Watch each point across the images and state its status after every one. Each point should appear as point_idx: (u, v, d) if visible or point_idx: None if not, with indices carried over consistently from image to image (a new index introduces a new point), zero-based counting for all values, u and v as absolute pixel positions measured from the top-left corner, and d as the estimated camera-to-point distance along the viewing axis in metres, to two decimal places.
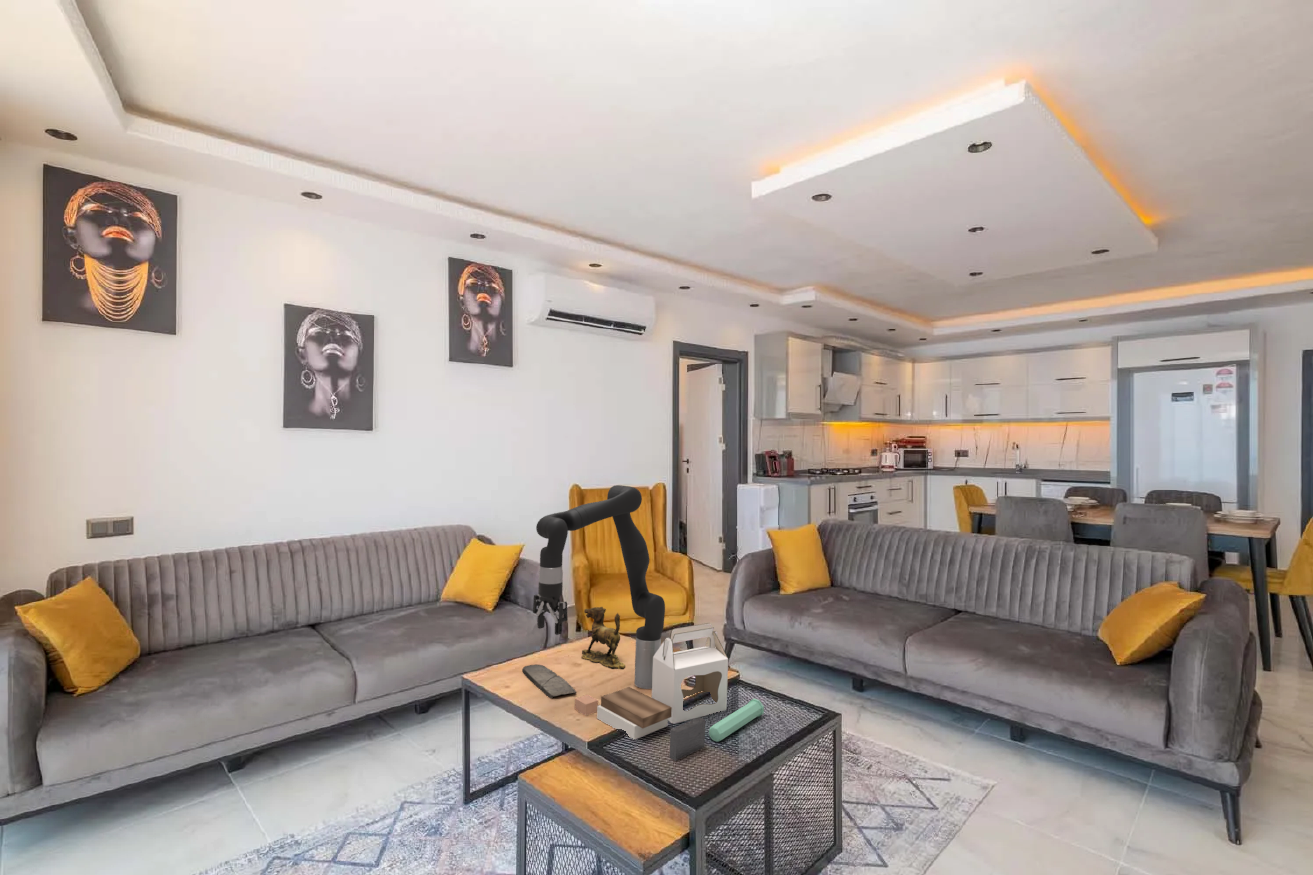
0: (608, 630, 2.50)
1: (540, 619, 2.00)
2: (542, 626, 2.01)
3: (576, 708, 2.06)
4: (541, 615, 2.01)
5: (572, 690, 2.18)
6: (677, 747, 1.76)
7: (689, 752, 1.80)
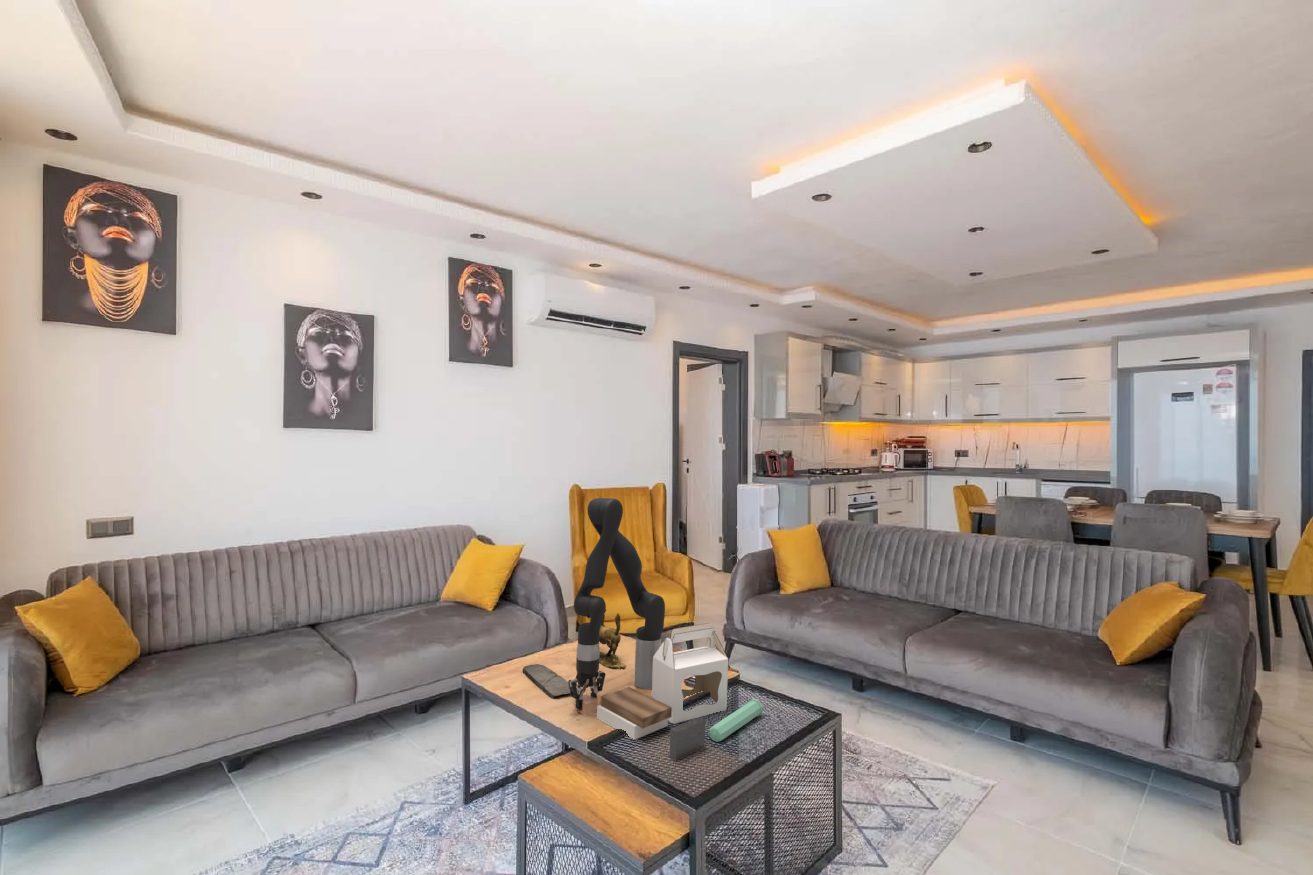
0: (608, 630, 2.49)
1: None
2: None
3: None
4: None
5: None
6: (677, 747, 1.76)
7: (689, 752, 1.80)
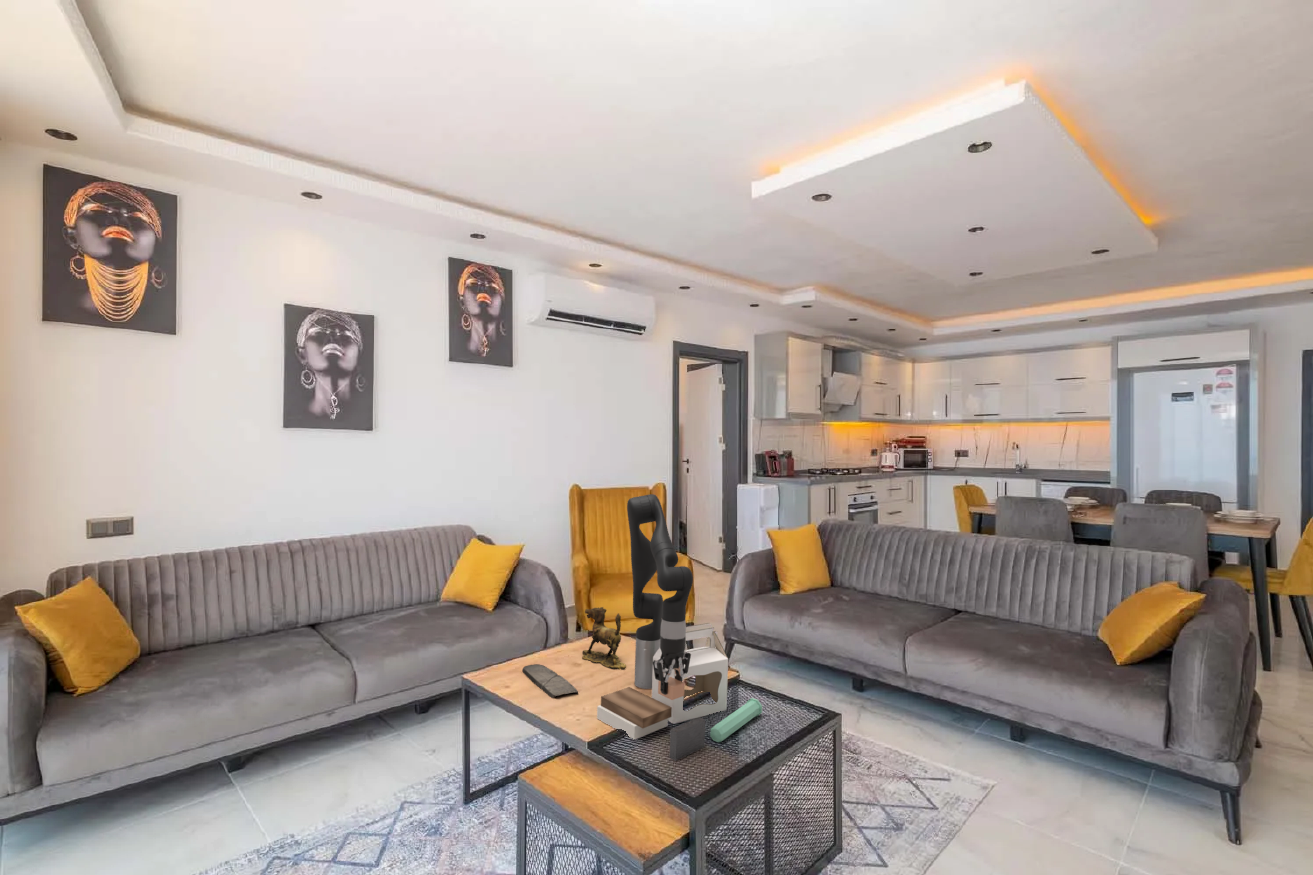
0: (609, 630, 2.49)
1: None
2: None
3: (660, 691, 1.85)
4: None
5: (574, 689, 2.19)
6: (677, 747, 1.76)
7: (689, 752, 1.80)
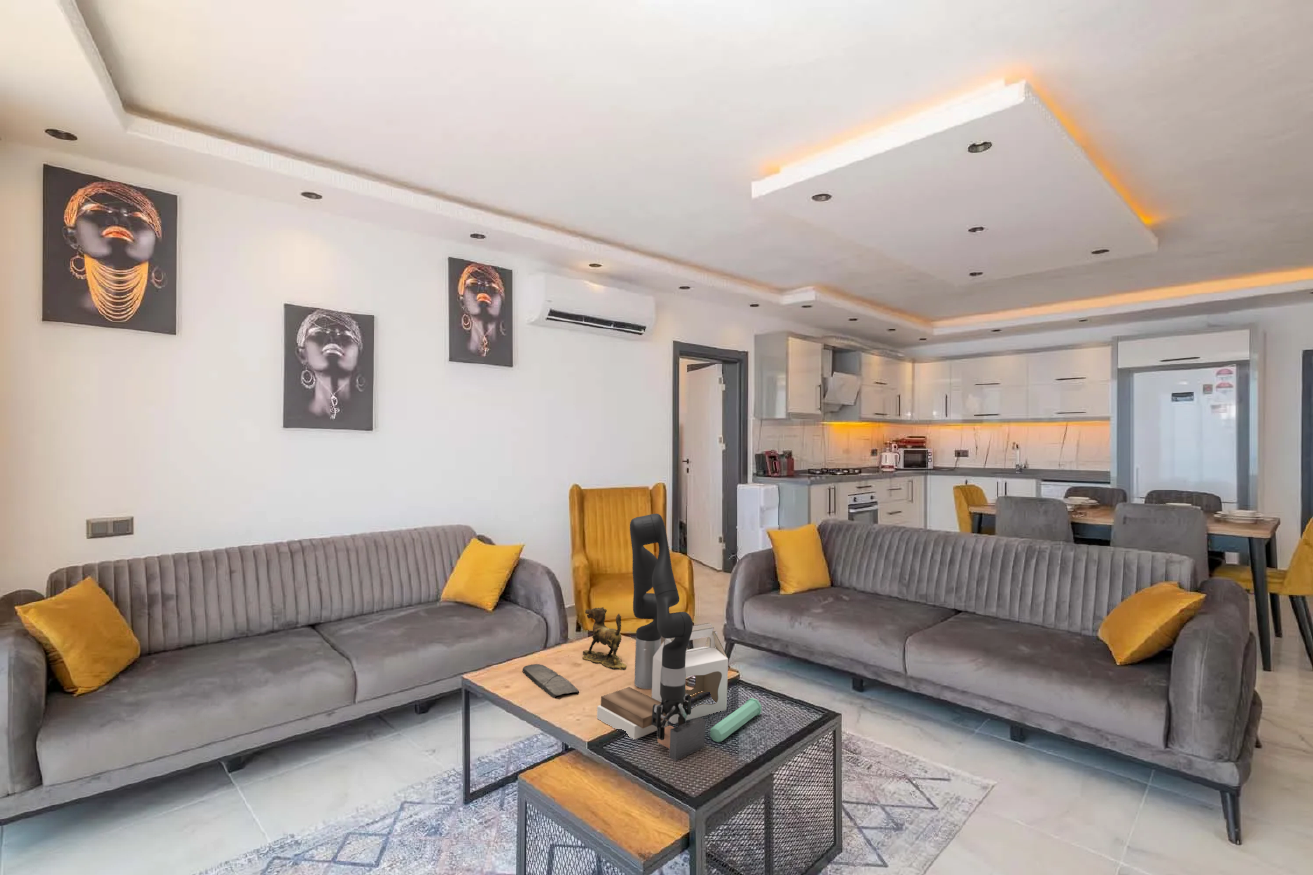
0: (609, 631, 2.49)
1: None
2: None
3: (660, 741, 1.85)
4: None
5: (574, 689, 2.19)
6: (677, 747, 1.76)
7: (689, 752, 1.80)
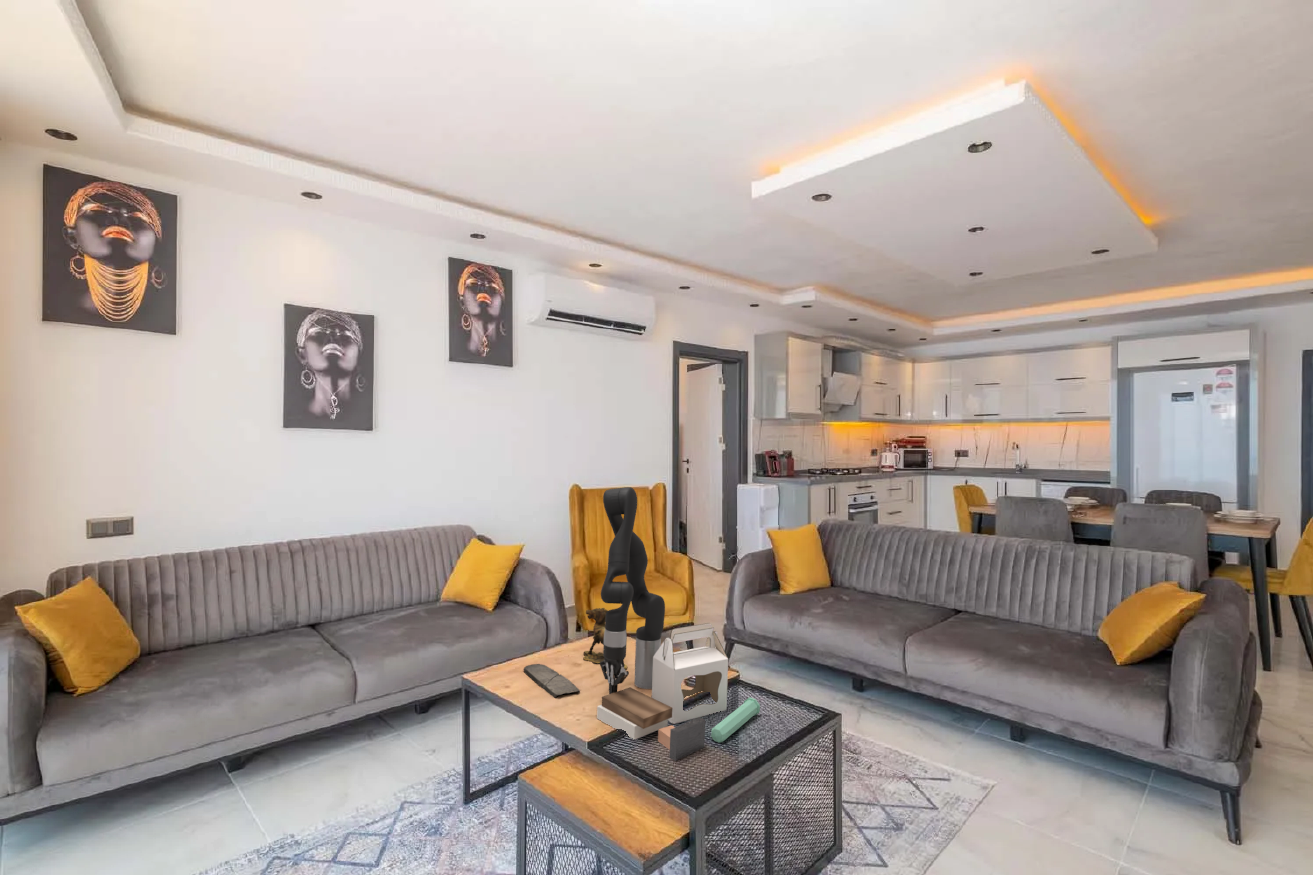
0: None
1: None
2: None
3: (660, 740, 1.86)
4: None
5: (575, 689, 2.19)
6: (677, 747, 1.76)
7: (689, 752, 1.80)
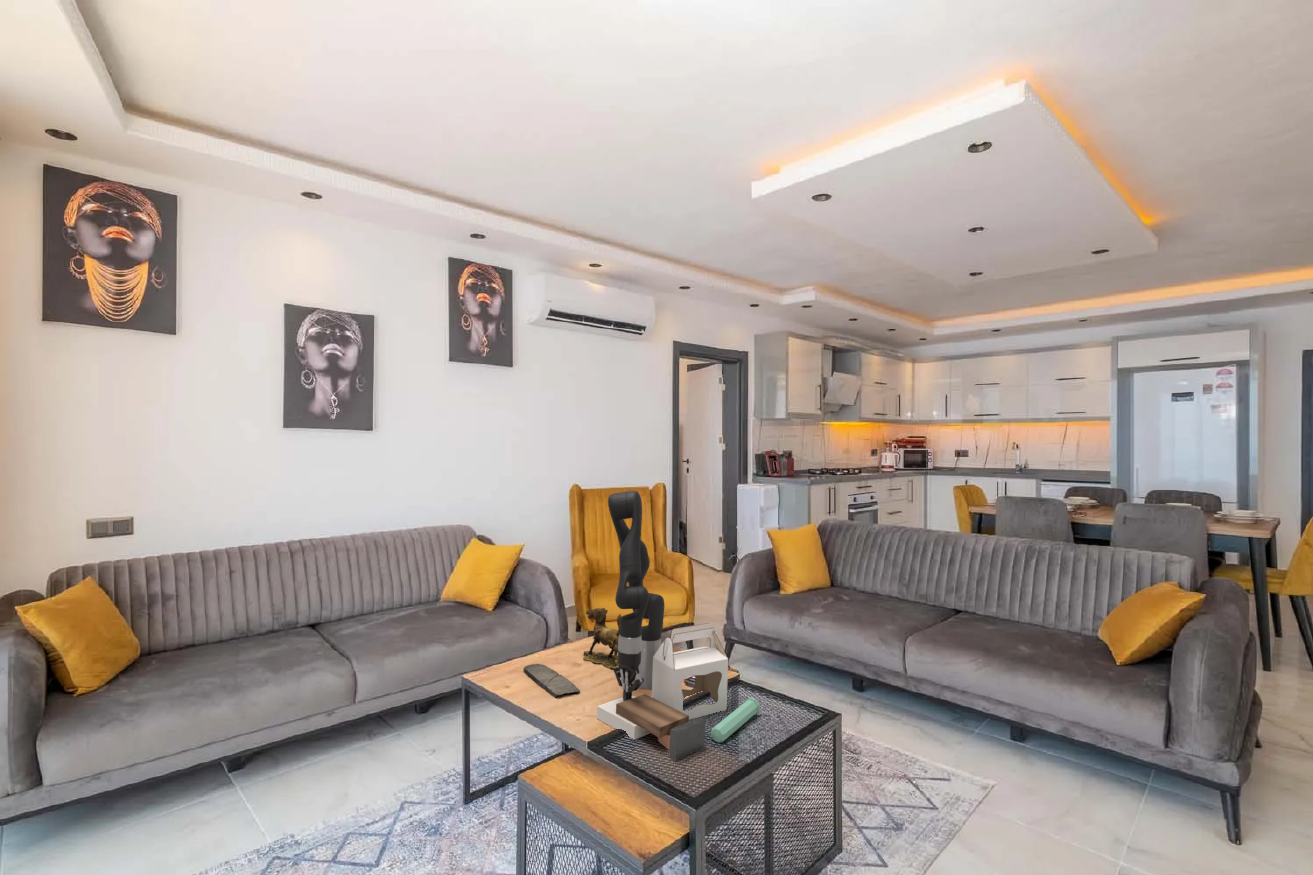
0: (610, 631, 2.48)
1: None
2: None
3: (660, 740, 1.86)
4: None
5: (576, 689, 2.19)
6: (677, 747, 1.76)
7: (689, 752, 1.80)
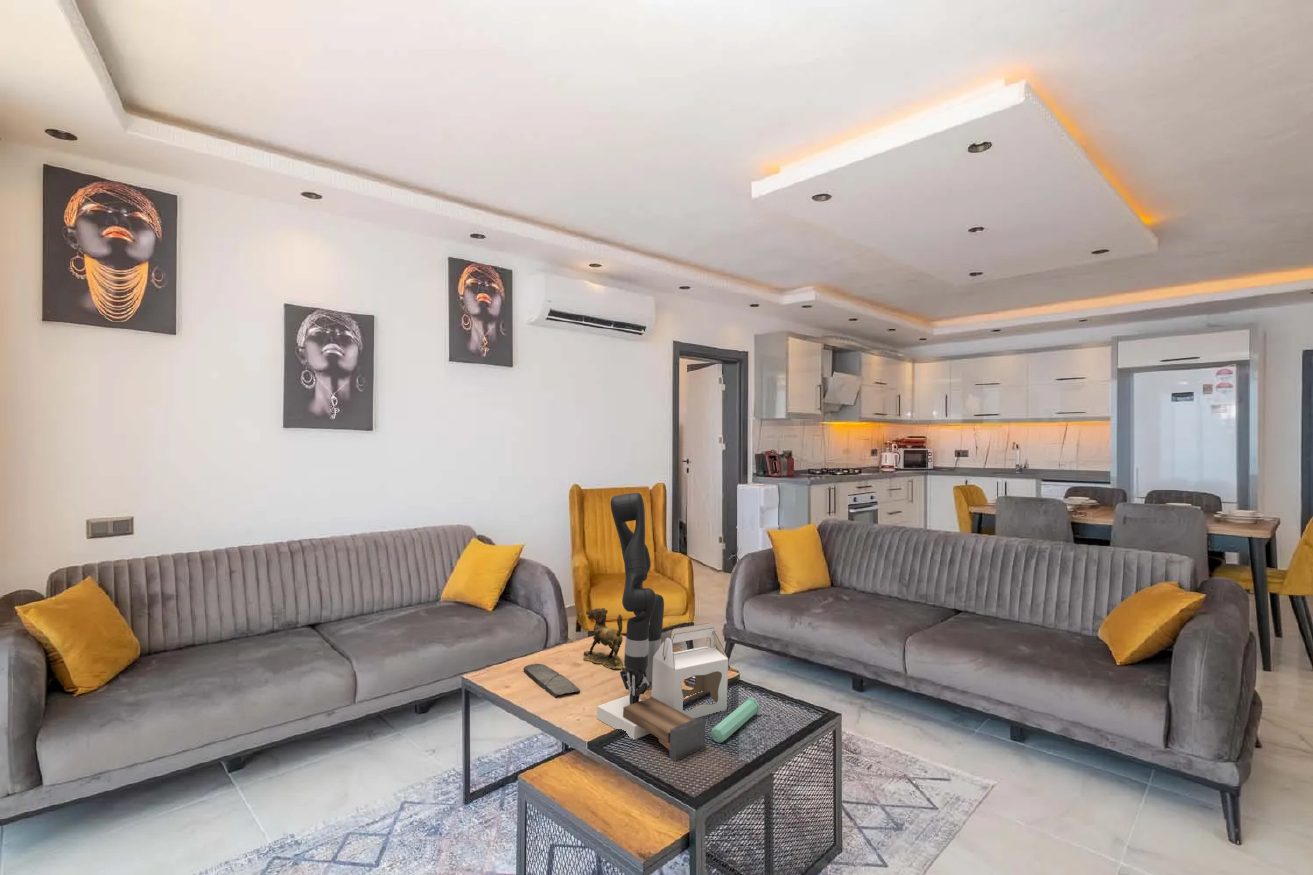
0: (610, 631, 2.48)
1: None
2: None
3: (660, 740, 1.86)
4: None
5: (576, 688, 2.19)
6: (677, 747, 1.76)
7: (689, 752, 1.80)
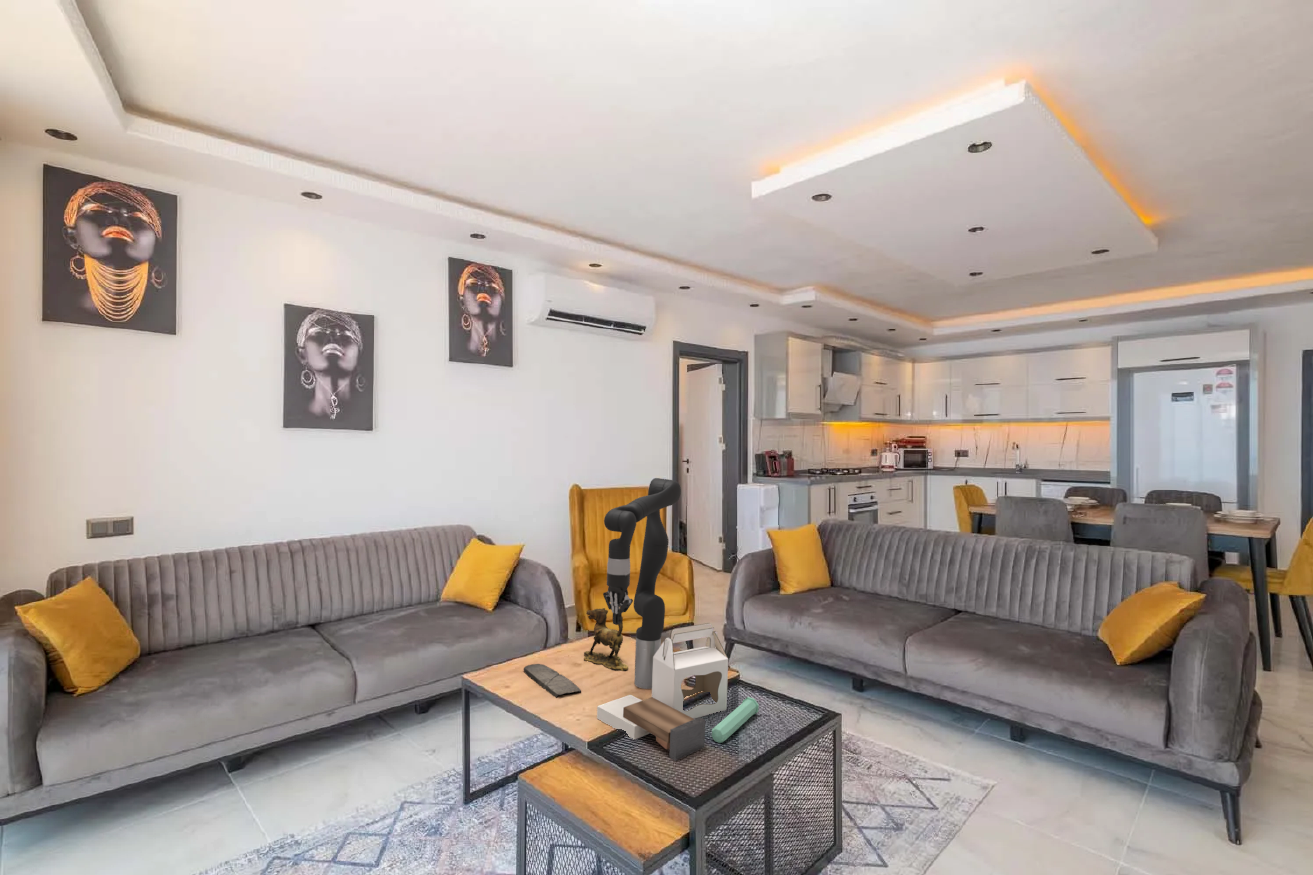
0: (611, 632, 2.48)
1: None
2: None
3: (657, 739, 1.86)
4: None
5: (576, 688, 2.20)
6: (677, 747, 1.76)
7: (689, 752, 1.80)
